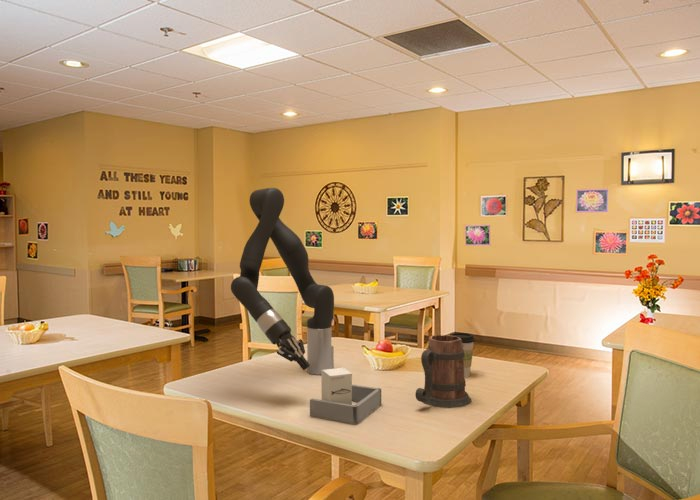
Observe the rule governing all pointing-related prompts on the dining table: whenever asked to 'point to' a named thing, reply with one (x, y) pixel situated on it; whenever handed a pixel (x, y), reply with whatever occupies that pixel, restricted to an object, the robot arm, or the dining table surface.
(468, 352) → the coffee cup
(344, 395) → the supplement box
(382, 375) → the dining table surface
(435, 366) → the tankard
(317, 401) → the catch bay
